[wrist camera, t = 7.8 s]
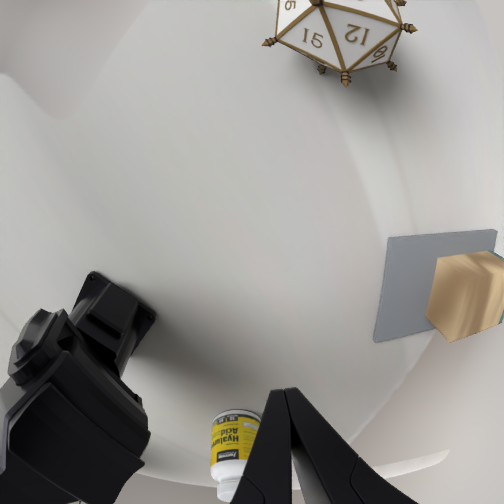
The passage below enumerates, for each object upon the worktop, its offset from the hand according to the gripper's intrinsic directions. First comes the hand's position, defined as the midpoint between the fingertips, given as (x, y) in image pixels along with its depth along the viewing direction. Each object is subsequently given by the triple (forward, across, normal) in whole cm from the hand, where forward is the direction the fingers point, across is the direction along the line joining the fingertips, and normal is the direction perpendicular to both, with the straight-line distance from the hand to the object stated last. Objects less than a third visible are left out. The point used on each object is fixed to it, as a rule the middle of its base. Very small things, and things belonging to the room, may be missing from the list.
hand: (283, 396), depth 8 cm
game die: (+13, -6, -15) cm, 21 cm away
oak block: (+10, -16, +5) cm, 19 cm away
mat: (+13, -18, +5) cm, 22 cm away
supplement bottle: (+13, +3, +20) cm, 24 cm away
